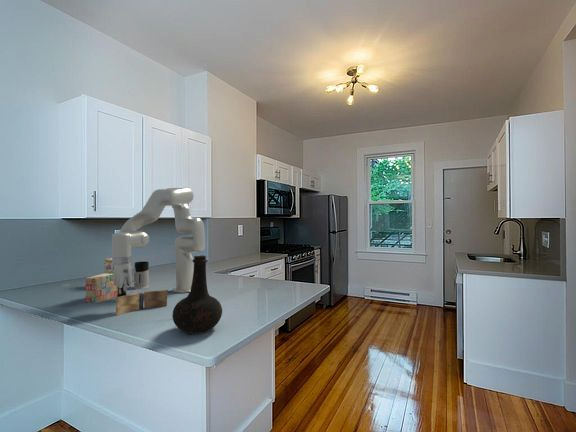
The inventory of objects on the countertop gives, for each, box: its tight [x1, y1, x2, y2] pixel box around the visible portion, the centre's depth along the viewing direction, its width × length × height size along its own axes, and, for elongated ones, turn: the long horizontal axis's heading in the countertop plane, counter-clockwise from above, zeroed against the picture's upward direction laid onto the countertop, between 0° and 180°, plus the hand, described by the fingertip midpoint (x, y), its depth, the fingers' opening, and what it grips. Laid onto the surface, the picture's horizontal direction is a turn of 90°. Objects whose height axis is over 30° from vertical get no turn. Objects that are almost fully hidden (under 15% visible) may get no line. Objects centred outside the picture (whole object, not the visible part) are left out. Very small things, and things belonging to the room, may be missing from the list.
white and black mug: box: [131, 261, 150, 290], centre depth 181 cm, size 9×14×15 cm, turn 167°
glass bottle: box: [171, 255, 223, 334], centre depth 117 cm, size 18×18×28 cm
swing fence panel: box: [114, 292, 141, 316], centre depth 134 cm, size 10×2×7 cm, turn 150°
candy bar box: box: [103, 257, 114, 274], centre depth 186 cm, size 11×5×16 cm, turn 58°
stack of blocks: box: [85, 272, 119, 303], centre depth 161 cm, size 21×6×12 cm, turn 169°
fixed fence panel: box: [139, 289, 168, 310], centre depth 142 cm, size 12×2×8 cm, turn 116°
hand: (121, 302), depth 135 cm, fingers closed
